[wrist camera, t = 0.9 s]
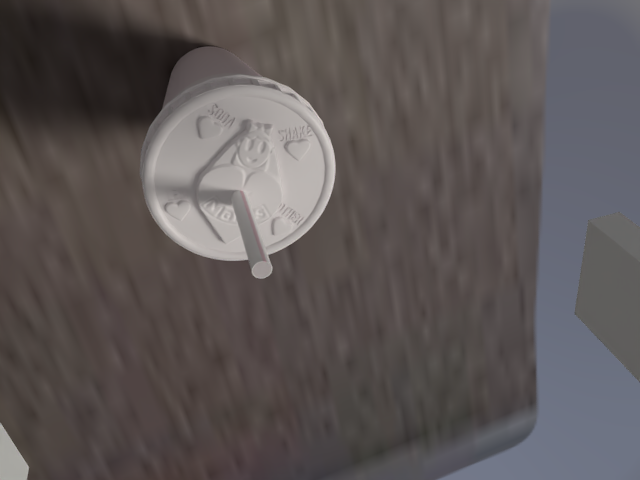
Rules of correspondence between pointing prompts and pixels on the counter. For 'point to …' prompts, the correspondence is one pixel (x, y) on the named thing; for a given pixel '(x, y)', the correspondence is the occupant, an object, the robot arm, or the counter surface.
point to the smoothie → (234, 161)
